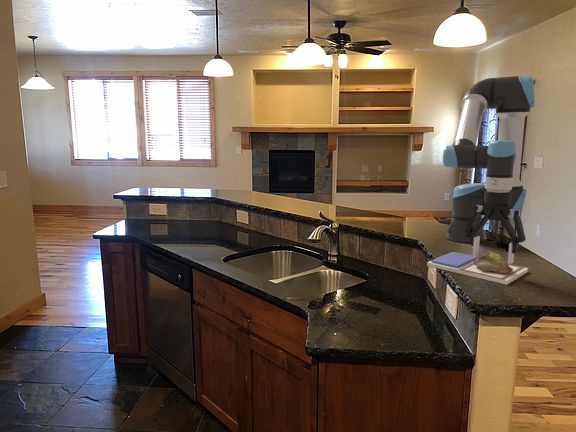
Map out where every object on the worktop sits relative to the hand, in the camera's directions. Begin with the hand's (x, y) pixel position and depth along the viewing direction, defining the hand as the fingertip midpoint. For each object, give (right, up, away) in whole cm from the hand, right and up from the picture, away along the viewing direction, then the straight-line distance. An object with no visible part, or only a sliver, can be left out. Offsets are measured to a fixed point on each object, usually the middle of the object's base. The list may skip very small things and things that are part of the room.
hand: (492, 259), depth 139 cm
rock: (-1, -3, 0) cm, 3 cm away
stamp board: (-3, -4, +4) cm, 7 cm away
